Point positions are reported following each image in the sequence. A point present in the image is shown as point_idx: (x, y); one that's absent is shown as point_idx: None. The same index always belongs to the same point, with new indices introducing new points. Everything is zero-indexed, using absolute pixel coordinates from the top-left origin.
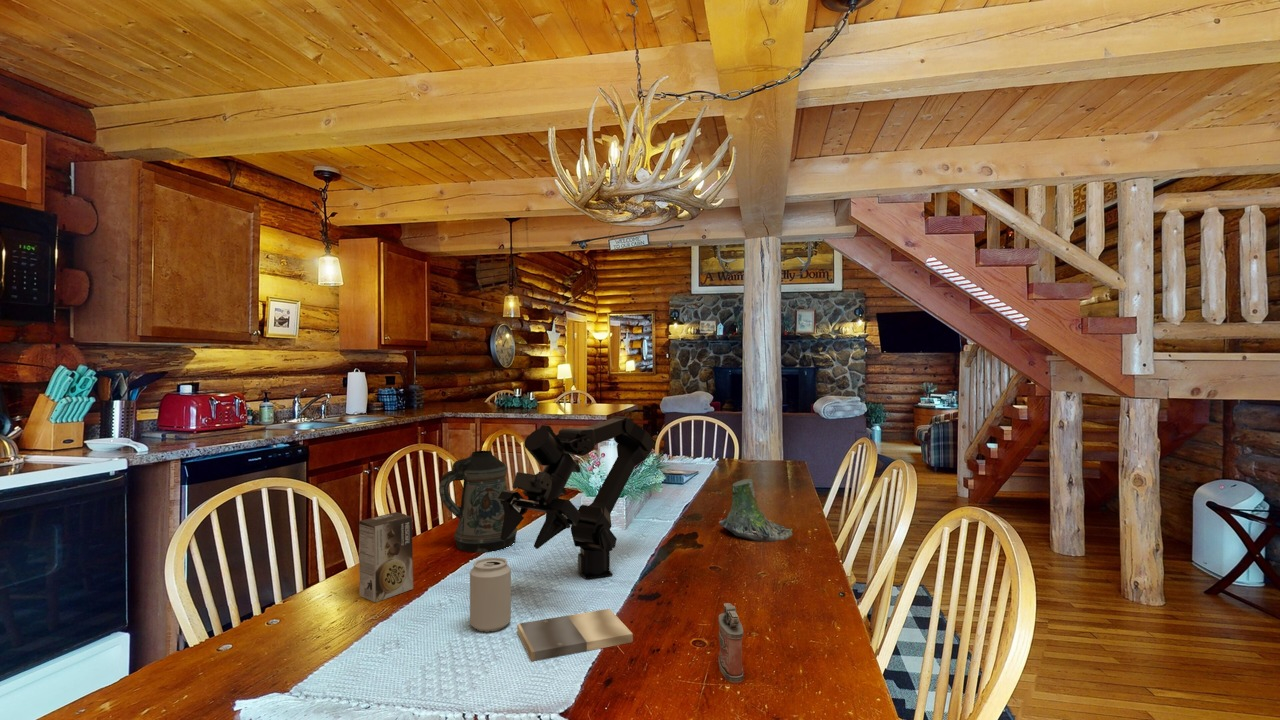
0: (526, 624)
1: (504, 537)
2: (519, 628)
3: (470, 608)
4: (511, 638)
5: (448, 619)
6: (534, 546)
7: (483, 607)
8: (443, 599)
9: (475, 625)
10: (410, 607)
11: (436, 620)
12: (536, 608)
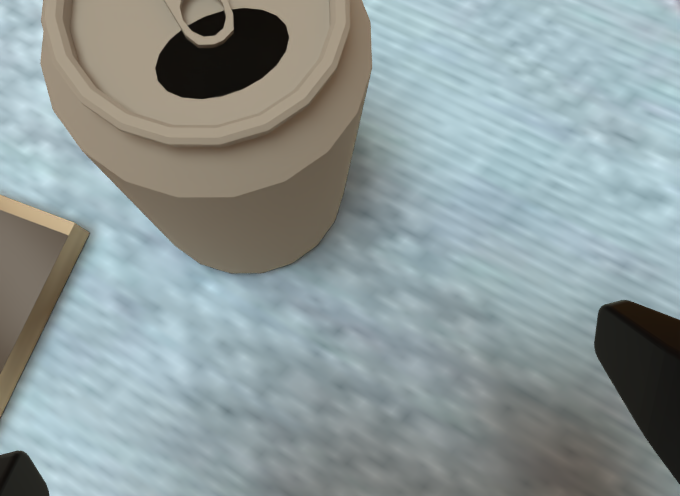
0: (29, 250)
1: (619, 354)
2: (23, 204)
3: (277, 57)
4: (56, 181)
5: (437, 85)
6: (11, 454)
7: (164, 55)
8: (676, 173)
9: (226, 87)
10: (669, 31)
11: (461, 46)
12: (261, 467)
